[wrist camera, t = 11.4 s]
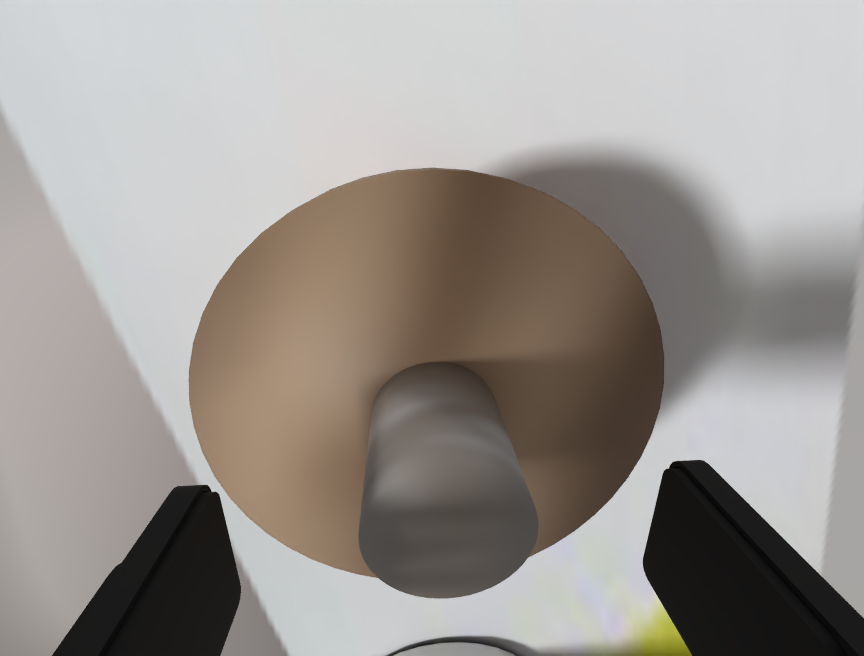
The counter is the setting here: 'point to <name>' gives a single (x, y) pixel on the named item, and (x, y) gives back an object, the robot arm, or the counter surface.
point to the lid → (426, 377)
